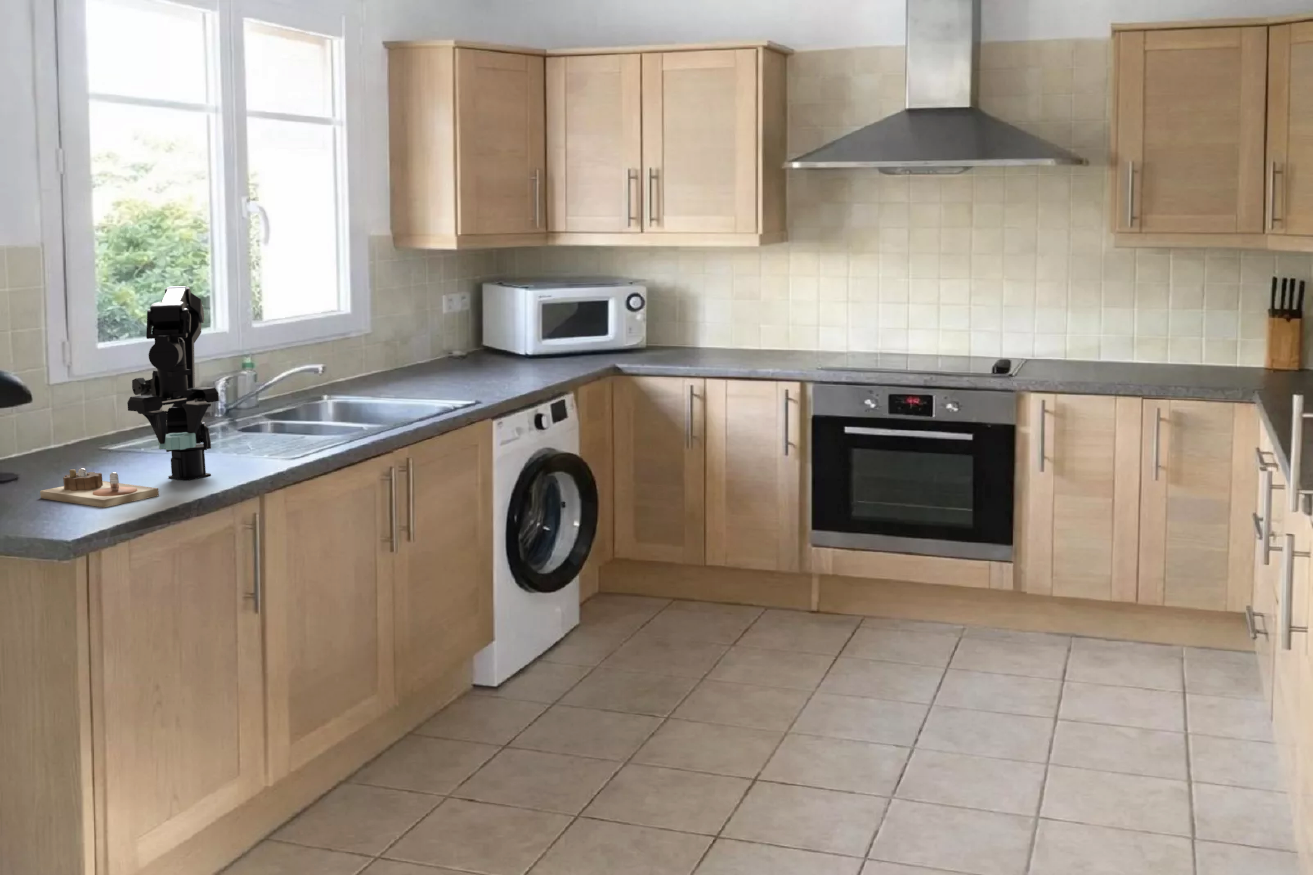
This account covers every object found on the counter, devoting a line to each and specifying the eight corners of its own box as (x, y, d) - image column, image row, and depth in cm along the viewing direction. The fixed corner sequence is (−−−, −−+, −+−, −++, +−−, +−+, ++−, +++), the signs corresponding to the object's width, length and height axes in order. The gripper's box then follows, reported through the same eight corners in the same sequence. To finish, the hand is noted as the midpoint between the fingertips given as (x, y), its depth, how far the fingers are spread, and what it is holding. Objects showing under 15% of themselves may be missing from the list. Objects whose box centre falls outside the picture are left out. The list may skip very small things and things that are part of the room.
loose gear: (180, 443, 298) (179, 431, 298) (203, 445, 295) (202, 433, 294) (151, 448, 293) (150, 436, 292) (175, 451, 289) (174, 438, 288)
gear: (87, 482, 298) (85, 463, 297) (109, 485, 294) (108, 466, 293) (57, 488, 292) (55, 469, 291) (79, 492, 288) (77, 472, 287)
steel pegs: (84, 486, 294) (82, 467, 293) (121, 491, 288) (119, 471, 287) (77, 487, 293) (76, 468, 292) (114, 492, 286) (112, 473, 286)
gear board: (95, 486, 301) (95, 478, 301) (158, 495, 291) (158, 487, 290) (40, 498, 290) (40, 489, 290) (104, 507, 280) (103, 498, 279)
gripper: (182, 359, 303) (187, 432, 305) (106, 368, 287) (113, 445, 290) (218, 361, 297) (223, 435, 300) (143, 370, 282) (149, 449, 284)
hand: (177, 441), depth 293 cm, fingers closed on loose gear, 7 cm apart
